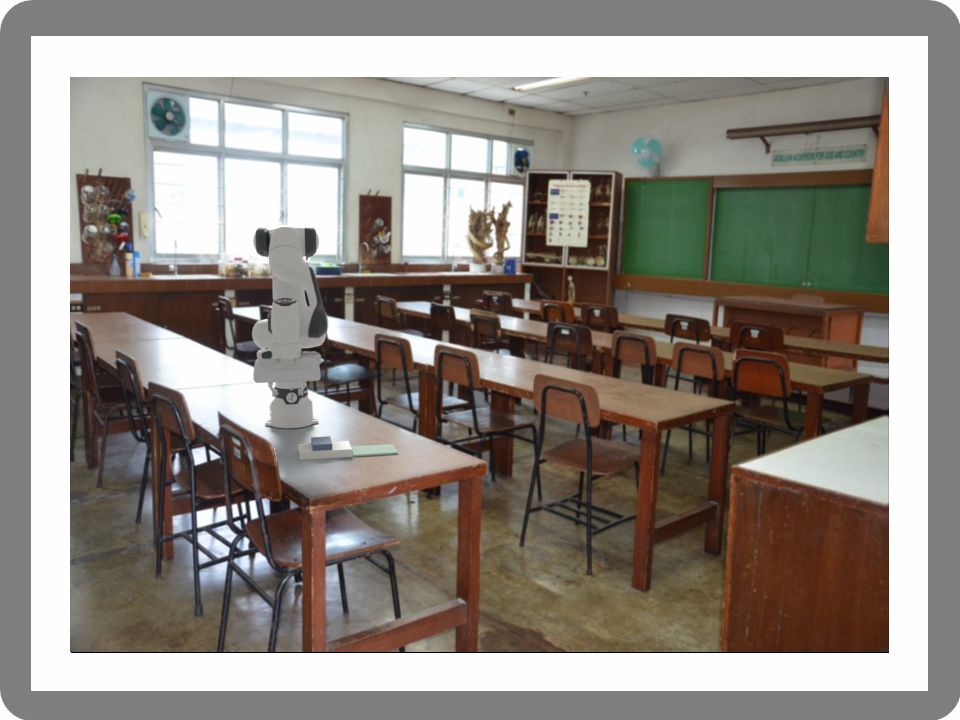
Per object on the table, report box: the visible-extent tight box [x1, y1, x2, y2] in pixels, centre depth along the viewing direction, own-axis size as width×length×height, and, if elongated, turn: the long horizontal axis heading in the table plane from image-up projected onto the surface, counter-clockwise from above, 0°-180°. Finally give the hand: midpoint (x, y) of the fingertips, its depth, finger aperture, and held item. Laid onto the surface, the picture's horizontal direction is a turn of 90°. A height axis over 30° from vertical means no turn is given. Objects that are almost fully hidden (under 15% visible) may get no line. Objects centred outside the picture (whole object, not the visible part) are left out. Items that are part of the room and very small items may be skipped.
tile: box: [310, 435, 333, 451], centre depth 249 cm, size 9×6×2 cm, turn 15°
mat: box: [350, 443, 399, 458], centre depth 253 cm, size 10×14×1 cm
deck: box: [297, 440, 353, 461], centre depth 249 cm, size 10×16×2 cm, turn 105°
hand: (287, 395), depth 244 cm, fingers open, 6 cm apart
